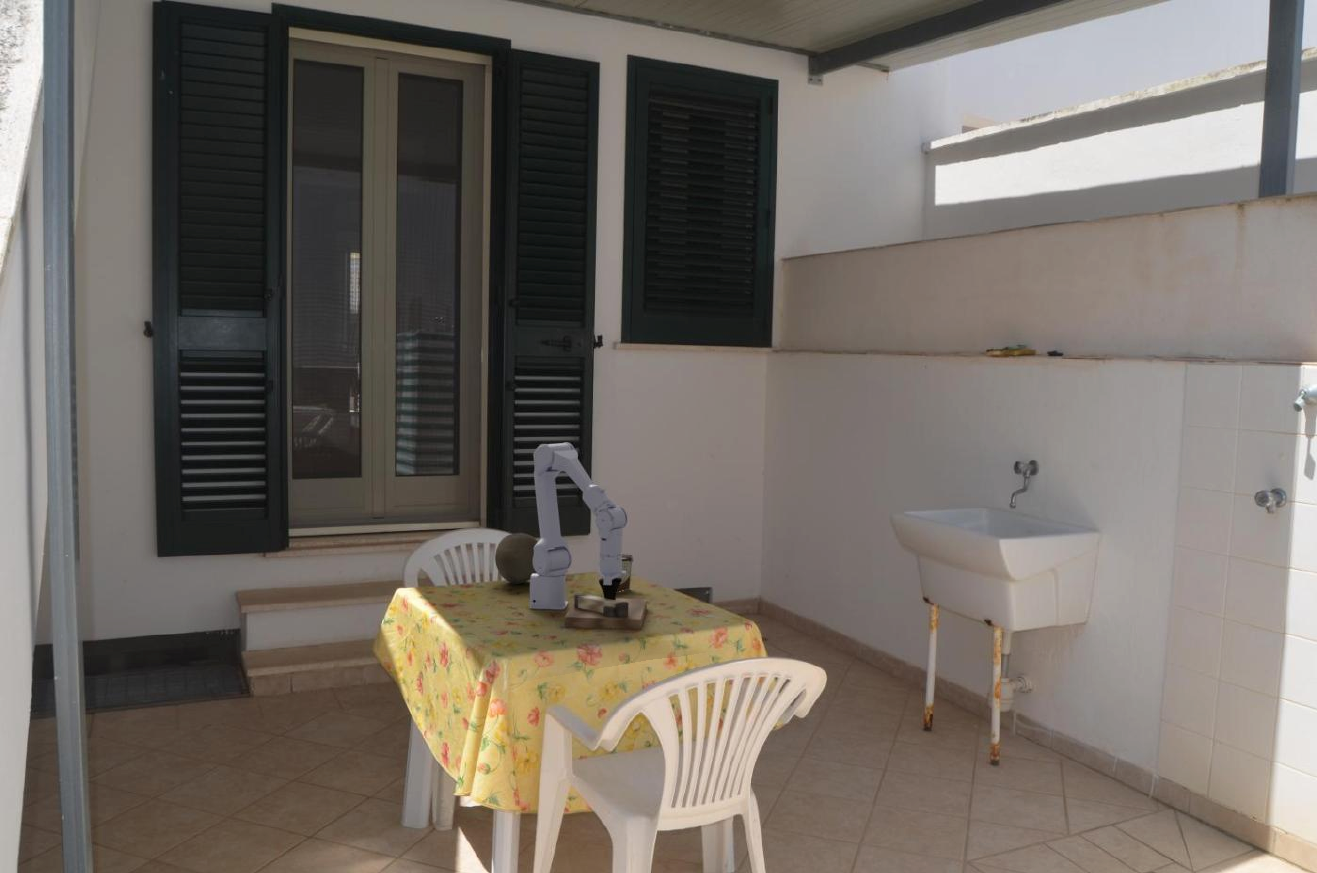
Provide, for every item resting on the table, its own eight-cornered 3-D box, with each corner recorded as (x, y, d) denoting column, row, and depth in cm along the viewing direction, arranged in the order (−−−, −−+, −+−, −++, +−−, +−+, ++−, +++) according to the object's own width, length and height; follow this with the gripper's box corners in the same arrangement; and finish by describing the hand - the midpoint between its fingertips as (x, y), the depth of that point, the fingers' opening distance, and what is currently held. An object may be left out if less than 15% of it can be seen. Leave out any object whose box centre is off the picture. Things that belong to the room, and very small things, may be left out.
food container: (616, 585, 313) (616, 552, 312) (632, 588, 309) (633, 554, 309) (589, 592, 303) (590, 558, 302) (606, 596, 299) (607, 561, 299)
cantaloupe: (487, 581, 315) (487, 531, 314) (531, 577, 322) (532, 528, 321) (504, 591, 303) (505, 539, 302) (550, 586, 310) (550, 535, 309)
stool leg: (571, 606, 275) (571, 594, 275) (580, 604, 278) (580, 592, 277) (619, 617, 265) (620, 604, 265) (628, 615, 267) (628, 602, 267)
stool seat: (564, 627, 265) (564, 607, 264) (576, 606, 287) (576, 588, 286) (640, 629, 264) (640, 610, 263) (646, 608, 286) (646, 590, 285)
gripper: (623, 560, 264) (622, 614, 265) (628, 549, 279) (627, 600, 280) (595, 559, 265) (594, 613, 266) (602, 548, 279) (601, 599, 280)
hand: (609, 606), depth 273 cm, fingers closed, pressing on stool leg
